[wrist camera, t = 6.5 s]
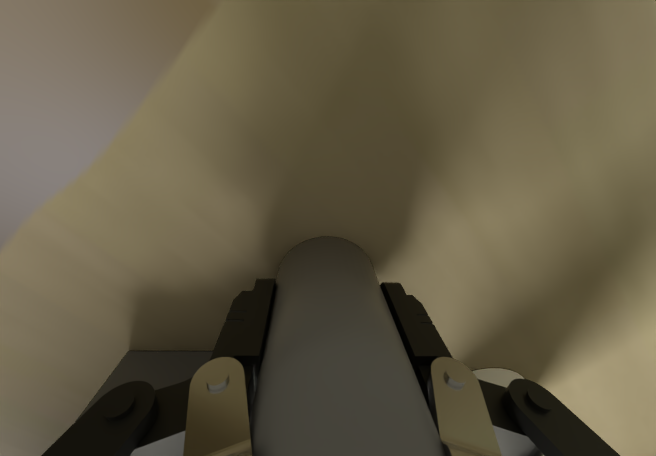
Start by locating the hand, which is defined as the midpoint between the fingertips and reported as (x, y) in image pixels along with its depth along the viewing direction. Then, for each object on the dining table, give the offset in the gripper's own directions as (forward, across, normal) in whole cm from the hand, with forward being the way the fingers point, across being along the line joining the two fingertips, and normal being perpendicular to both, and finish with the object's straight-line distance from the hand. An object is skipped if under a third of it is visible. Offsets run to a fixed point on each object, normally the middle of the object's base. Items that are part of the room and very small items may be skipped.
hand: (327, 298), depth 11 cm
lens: (+1, 0, 0) cm, 1 cm away
